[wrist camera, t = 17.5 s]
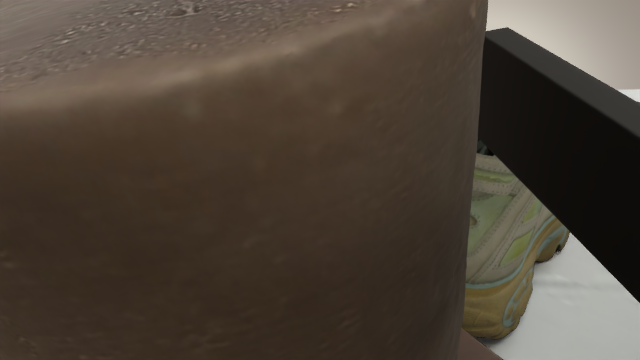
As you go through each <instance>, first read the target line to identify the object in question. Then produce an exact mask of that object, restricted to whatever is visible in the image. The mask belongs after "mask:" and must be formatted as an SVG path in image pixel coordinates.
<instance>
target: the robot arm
mask: <svg viewBox="0 0 640 360" xmlns="http://www.w3.org/2000/svg"><path fill="white" fill-rule="evenodd" d="M478 138H479V139H480V140H481V141H482V142H483V143H484V144H485V145H486V146H487V148H488V149H489V150H490V151H491V152H492V153H493V154H494V155H495V156H496V157H497V158H498V159H499V160H500V161H501V162H502V163H503V164H504V165H505V166H506V167H507V168H508V169H509V170H510V171H511V172H512V173H513V174H514V175H515V176H516V177H517V178H518V179H519V180H520V181H521V182H522V183H523V184H524V185H525V186H526V187H527V188H528V189H529V190H530V191H531V192H532V193H533V194H534V195H535V196H536V198H537V199H538V200H539V201H540V202H541V203H542V204H543V205H544V206H545V207H546V208H547V209H548V210H549V211H550V212H551V213H552V214H553V215H554V216H555V217H556V218H557V219H558V220H559V221H560V222H561V223H562V224H563V225H564V226H565V227H566V228H567V229H568V230H569V231H570V232H571V233H572V234H573V235H574V236H575V237H576V238H577V239H578V240H579V241H580V242H581V243H582V244H583V245H584V246H585V248H586V249H587V250H588V251H589V252H590V253H591V254H592V255H593V256H594V257H595V258H596V259H597V260H598V261H599V262H600V263H601V264H602V265H603V266H604V267H605V268H606V269H607V270H608V271H609V272H610V273H611V274H612V275H613V276H614V277H615V278H616V279H617V280H618V281H619V282H620V283H621V284H622V285H623V286H624V287H625V288H626V289H627V290H628V291H629V292H630V293H631V294H632V295H633V297H634V298H635V299H636V300H637V301H638V302H639V303H640V102H636V101H634V100H633V99H631V98H629V97H627V96H626V95H624V94H622V93H621V92H619V91H617V90H615V89H614V88H612V87H610V86H608V85H607V84H605V83H603V82H601V81H600V80H598V79H596V78H594V77H593V76H591V75H589V74H588V73H586V72H584V71H582V70H581V69H579V68H577V67H575V66H574V65H572V64H570V63H568V62H567V61H565V60H563V59H562V58H560V57H558V56H556V55H554V54H553V53H551V52H549V51H548V50H546V49H544V48H542V47H541V46H539V45H537V44H536V43H534V42H532V41H530V40H529V39H527V38H525V37H523V36H522V35H520V34H518V33H516V32H515V31H513V30H511V29H509V28H502V29H496V30H491V31H486V32H485V39H484V44H483V56H482V73H481V90H480V109H479V121H478Z"/></svg>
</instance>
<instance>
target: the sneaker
mask: <svg viewBox="0 0 640 360" xmlns="http://www.w3.org/2000/svg"><path fill="white" fill-rule="evenodd" d="M569 233H570V231H569V230H568V229H567V228H566V227H565V226H564V225H563V224H562V223H561V222H560V221H559V220H558V219H557V218H556V217H555V216H554V215H553V214H552V213H551V212H550V211H549V210H548V209H547V208H546V207H545V206H544V205H543V204H542V203H541V202H540V201H539V200H538V199H537V198H536V196H535V195H534V194H533V193H532V192H531V191H530V190H529V189H528V188H527V187H526V186H525V185H524V184H523V183H522V182H521V181H520V180H519V179H518V178H517V177H516V176H515V175H514V174H513V173H512V172H511V171H510V170H509V169H508V168H507V167H506V166H505V165H504V164H503V163H502V162H501V161H500V160H499V159H498V158H497V157H496V156H495V155H494V154H493V153H492V152H491V151H490V150H489V149H488V148H487V146H486V145H485V144H484V143H483V142H482V141H481V140H480V139H479V138H478V141H477V153H476V162H475V170H474V178H473V189H472V200H471V212H470V227H469V236H468V248H467V250H468V251H467V268H466V288H465V307H464V314H463V322H462V327H461V328H462V329H463V330H465V331H466V332H467V333H469V334H470V335H471V336H475V337H485V338H491V339H499V338H502V337H504V336H506V335H507V334H508V333H509V332H510V331H513V330H514V329H516V327H517V325H518V324H519V319H520V316H522V315H523V314H524V312H525V310H526V306H527V304H528V301H529V298H530V295H531V293H532V290H533V289H532V278H533V274H534V272H533V266H534V263H535V261H545V260H547V259H549V258H551V257H552V256H553V254H554V252H555V250H556V249H558V250H562V249H563V247H564V245H565V244H566V242H567V239H568V237H569Z"/></svg>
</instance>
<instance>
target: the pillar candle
mask: <svg viewBox="0 0 640 360" xmlns="http://www.w3.org/2000/svg"><path fill="white" fill-rule="evenodd" d="M487 10H488V0H0V360H457V355H458V346H459V342H460V334H461V327H462V322H463V314H464V307H465V288H466V268H467V251H468V250H467V248H468V236H469V227H470V212H471V200H472V189H473V178H474V170H475V162H476V153H477V141H478V121H479V109H480V90H481V73H482V56H483V44H484V39H485V32H486V23H487Z"/></svg>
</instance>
